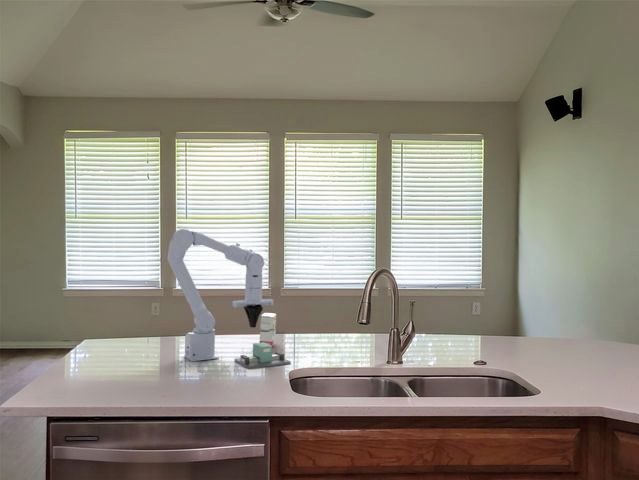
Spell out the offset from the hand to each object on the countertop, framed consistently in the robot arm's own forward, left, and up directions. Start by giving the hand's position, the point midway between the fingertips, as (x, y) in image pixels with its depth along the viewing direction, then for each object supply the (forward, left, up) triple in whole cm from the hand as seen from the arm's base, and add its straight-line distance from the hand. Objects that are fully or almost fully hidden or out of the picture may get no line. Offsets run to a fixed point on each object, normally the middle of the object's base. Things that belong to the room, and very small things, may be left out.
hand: (252, 327), depth 188 cm
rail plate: (-1, -11, -10) cm, 14 cm away
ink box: (+12, +12, -10) cm, 20 cm away
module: (-1, -10, -9) cm, 14 cm away
